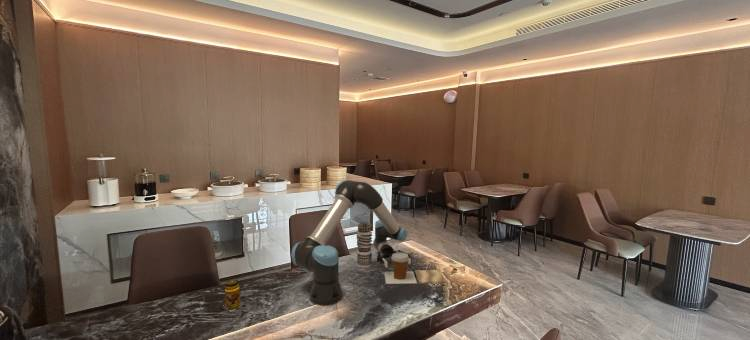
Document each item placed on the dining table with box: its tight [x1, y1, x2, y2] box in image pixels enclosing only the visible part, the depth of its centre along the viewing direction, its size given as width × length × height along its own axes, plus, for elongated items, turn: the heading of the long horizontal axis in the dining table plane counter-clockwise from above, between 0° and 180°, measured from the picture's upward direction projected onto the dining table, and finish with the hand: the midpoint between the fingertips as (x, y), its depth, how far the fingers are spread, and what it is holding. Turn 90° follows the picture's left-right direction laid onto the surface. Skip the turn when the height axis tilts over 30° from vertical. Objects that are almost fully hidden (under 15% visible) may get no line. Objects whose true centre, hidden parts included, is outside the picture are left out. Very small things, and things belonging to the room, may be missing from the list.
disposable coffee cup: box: [390, 251, 409, 279], centre depth 168 cm, size 10×10×12 cm
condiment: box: [224, 279, 242, 310], centre depth 140 cm, size 7×8×12 cm
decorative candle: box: [356, 221, 373, 268], centre depth 185 cm, size 9×9×25 cm
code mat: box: [383, 270, 418, 285], centre depth 169 cm, size 16×14×1 cm
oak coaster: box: [414, 269, 447, 284], centre depth 169 cm, size 14×14×1 cm
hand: (398, 263), depth 172 cm, fingers open, 13 cm apart
